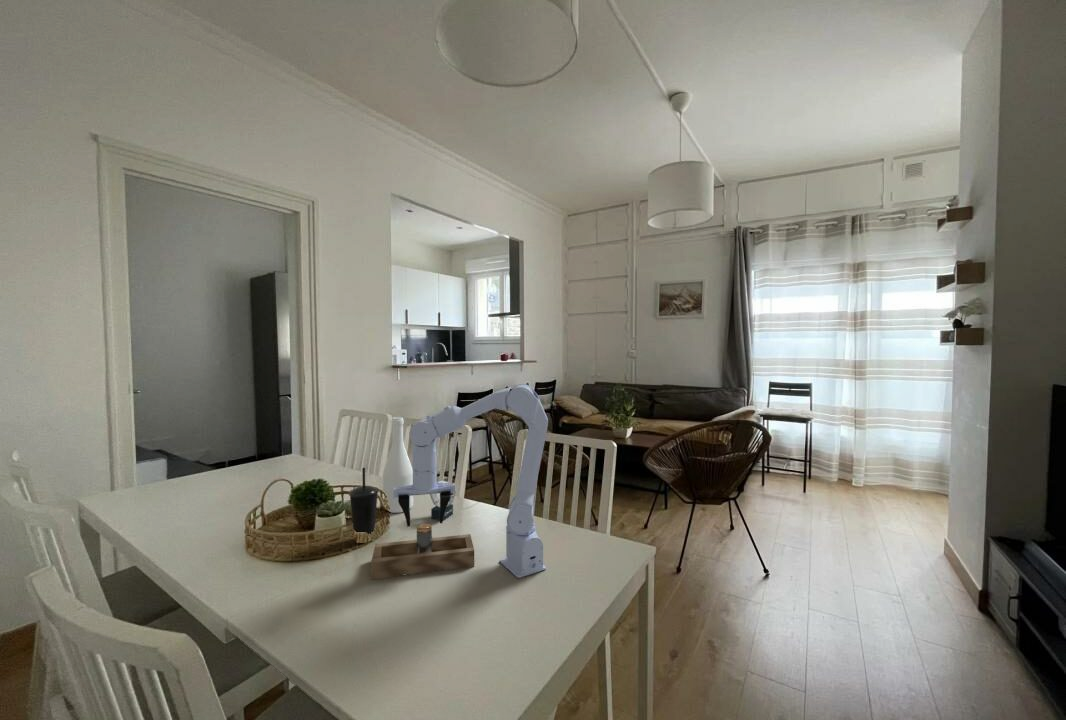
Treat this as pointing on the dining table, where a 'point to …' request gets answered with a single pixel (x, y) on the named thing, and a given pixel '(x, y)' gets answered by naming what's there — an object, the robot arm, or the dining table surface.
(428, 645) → the dining table surface
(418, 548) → the battery cell
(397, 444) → the wine bottle
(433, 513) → the watch
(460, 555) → the trough
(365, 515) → the drinking cup
